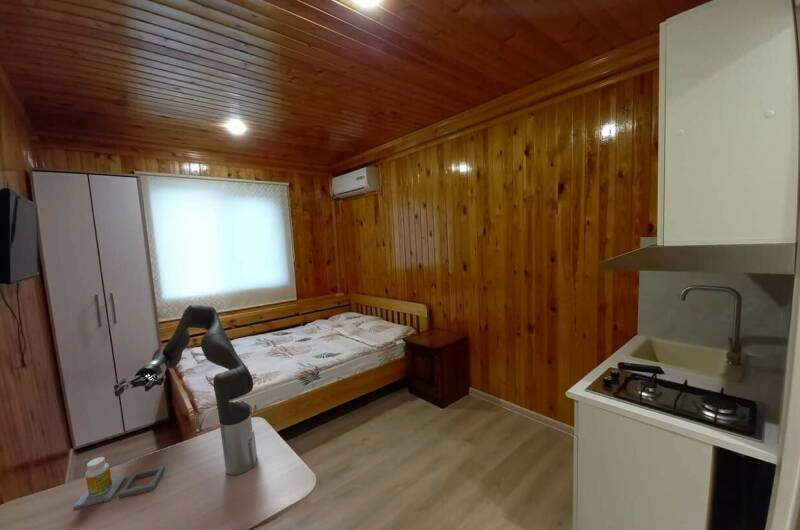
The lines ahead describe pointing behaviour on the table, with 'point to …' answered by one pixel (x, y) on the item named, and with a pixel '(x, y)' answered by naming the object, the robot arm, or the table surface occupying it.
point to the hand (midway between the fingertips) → (131, 391)
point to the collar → (128, 491)
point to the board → (106, 496)
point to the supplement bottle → (98, 477)
